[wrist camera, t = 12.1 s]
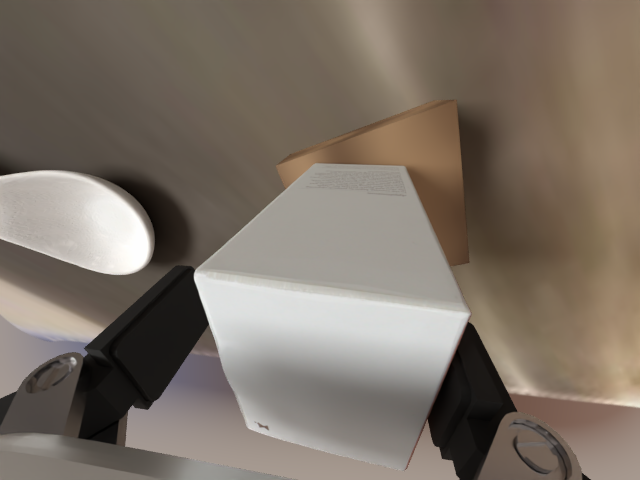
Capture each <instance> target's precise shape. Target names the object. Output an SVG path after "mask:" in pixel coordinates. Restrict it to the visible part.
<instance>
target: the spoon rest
mask: <svg viewBox="0 0 640 480" xmlns="http://www.w3.org/2000/svg"><path fill="white" fill-rule="evenodd" d="M0 239H3V240H6V241H9V242H12V243H15V244H18V245H21V246H24V247H26V248H29V249H32V250H35V251H38V252H41V253H43V254H46V255H49V256H52V257H55V258H57V259H60V260H63V261H66V262H69V263H72V264H75V265H78V266H80V267H83V268H86V269H90V270H93V271H97V272H101V273H106V274H114V275H125V274H132V273H135V272H138V271H139V270H141V269H143V268H144V267H145V266H146V265H147V264H148V263H149V262H150V260H151V258H152V255H153V252H154V245H155V236H154V230H153V226H152V223H151V220H150V218H149V216H148V215H147V213H146V211H145V210H144V208H143V207H142V206H141V204H140V203H139V202H138V201H137V200H136V199H135V198H134V197H133V196H132V195H130V194H129V193H128V192H126V191H125V190H124V189H122V188H120V187H119V186H117V185H115V184H113V183H111V182H109V181H107V180H104V179H102V178H99V177H96V176H92V175H89V174H84V173H79V172H72V171H60V170H41V171H31V172H23V173H16V174H10V175H4V176H0Z"/></svg>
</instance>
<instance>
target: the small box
mask: <svg viewBox="0 0 640 480" xmlns="http://www.w3.org/2000/svg"><path fill="white" fill-rule="evenodd" d="M194 281H195V283H196V286H197V289H198V292H199V295H200V299H201V301H202V304H203V307H204V310H205V313H206V316H207V319H208V322H209V325H210V327H211V330H212V333H213V336H214V338H215V341H216V345H217V348H218V352H219V356H220V360H221V364H222V367H223V370H224V372H225V376H226V378H227V380H228V382H229V384H230V385H231V387H232V389H233V391H234V393H235V396H236V399H237V401H238V404H239V406H240V409H241V412H242V414H243V417H244V419H245V422H246V425H247V427H248V428H249V429H251V430H253V431H256V432H259V433H262V434H264V435H268V436H271V437H274V438H277V439H281V440H285V441H288V442H291V443H295V444H298V445H302V446H306V447H309V448H313V449H317V450H320V451H324V452H328V453H332V454H335V455H340V456H344V457H348V458H352V459H356V460H360V461H364V462H367V463H372V464H377V465H380V466H384V467H389V468H393V469H397V470H401V471H405V470H406V469H407V467H408V465H409V462H410V460H411V457H412V455H413V453H414V450H415V448H416V445H417V443H418V441H419V438H420V436H421V433H422V431H423V429H424V426H425V423H426V421H427V419H428V417H429V414H430V412H431V410H432V407H433V405H434V402H435V400H436V398H437V396H438V393H439V391H440V388H441V386H442V383H443V380H444V378H445V376H446V374H447V371H448V368H449V366H450V364H451V361H452V359H453V357H454V354H455V352H456V350H457V347H458V345H459V343H460V340H461V338H462V335H463V333H464V330H465V328H466V325H467V323H468V321H469V319H470V317H471V315H472V312H471V310H470V308H469V307H468V305H467V303H466V301H465V299H464V296H463V294H462V292H461V289H460V287H459V285H458V282H457V280H456V278H455V276H454V274H453V272H452V270H451V268H450V265H449V263H448V260H447V258H446V256H445V254H444V251H443V249H442V247H441V245H440V243H439V240H438V238H437V236H436V234H435V232H434V230H433V227H432V225H431V223H430V221H429V218H428V216H427V214H426V211H425V209H424V207H423V205H422V203H421V200H420V198H419V196H418V194H417V191H416V189H415V187H414V185H413V182H412V180H411V178H410V176H409V173H408V171H407V169H406V167H405V166H391V165H357V164H325V163H315V164H314V165H312V166H311V167H310V168H309V169H308V170H307V171H306V172H305V173H304V174H302V175H301V176H300V177H299V178H298V179H297V180H296V181H295V182H293V183H292V184H291V185H290V186H289V187H288V188H287V189H286V190H285V191H284V192H283V193H281V194H280V195H279V196H278V197H277V198H276V199H275V200H274V201H272V202H271V203H270V204H269V205H268V206H267V207H266V208H265V209H263V210H262V211H261V212H260V213H259V214H258V215H257V216H256V217H255V218H254V219H253V220H251V221H250V222H249V223H248V224H247V225H246V226H245V227H244V228H243V229H242V230H240V231H239V232H238V233H237V234H236V235H235V236H234V237H233V238H231V239H230V240H229V241H228V242H227V243H226V244H225V245H224V246H223V247H222V248H220V249H219V250H218V251H217V252H216V253H215V254H213V255H212V256H211V257H210V258H209V259H208V260H206V261H205V262H204V263H203V264H202V265H201V266H199V267H198V268H197V269H196V270H195V273H194Z"/></svg>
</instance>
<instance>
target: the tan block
mask: <svg viewBox="0 0 640 480" xmlns="http://www.w3.org/2000/svg"><path fill="white" fill-rule="evenodd" d="M315 163H325V164H357V165H391V166H405V167H406V169H407V171H408V173H409V176H410V178H411V180H412V182H413V185H414V187H415V189H416V191H417V194H418V196H419V198H420V200H421V203H422V205H423V207H424V209H425V211H426V214H427V216H428V218H429V221H430V223H431V225H432V227H433V230H434V232H435V234H436V236H437V238H438V240H439V243H440V245H441V247H442V249H443V251H444V254H445V256H446V258H447V260H448V263H449V265H450V266H455V265H460V264H466V263H469V251H468V238H467V226H466V213H465V200H464V188H463V175H462V162H461V150H460V137H459V124H458V112H457V100H438V101H432V102H429V103H426V104H424V105H421V106H418V107H416V108H413V109H410V110H408V111H405V112H402V113H400V114H397V115H394V116H392V117H389V118H386V119H383V120H381V121H378V122H375V123H373V124H370V125H367V126H365V127H362V128H359V129H357V130H354V131H351V132H349V133H346V134H343V135H341V136H338V137H335V138H333V139H330V140H327V141H325V142H322V143H319V144H317V145H314V146H311V147H309V148H306V149H303V150H301V151H298V152H295V153H293V154H290V155H289V156H288V157H286V158H285V159H284V160H283V161H281V162H280V163H279V164H277V165H276V168H277V170H278V173H279V175H280V177H281V180H282V182H283V184H284V187H285V189H287V188H288V187H289V186H290V185H291V184H292V183H293V182H295V181H296V180H297V179H298V178H299V177H300V176H301V175H302V174H304V173H305V172H306V171H307V170H308V169H309V168H310V167H311V166H312V165H314V164H315Z"/></svg>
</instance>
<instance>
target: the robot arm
mask: <svg viewBox="0 0 640 480" xmlns="http://www.w3.org/2000/svg"><path fill="white" fill-rule="evenodd" d="M194 273H195V270H194V268H193V267H191V266H179V265H178V266H175V267H174V268H173V269H172V270H170V271H169V272H168V273H167V274H166V275H165V276H164V277H163V278H162V279H160V280H159V281H158V282H157V283H156V284H155V285H154V286H153V287H152V288H150V289H149V290H148V291H147V292H146V293H145V294H144V295H143V296H142V297H140V298H139V299H138V300H137V301H136V302H135V303H134V304H133V305H132V306H130V307H129V308H128V309H127V310H126V311H125V312H124V313H123V314H122V315H120V316H119V317H118V318H117V319H116V320H115V321H114V322H113V323H112V324H110V325H109V326H108V327H107V328H106V329H105V330H104V331H103V332H102V333H100V334H99V335H98V336H97V337H96V338H95V339H94V340H93V341H92V342H90V343H89V344H88V345H87V346H86V347H85V348H84V349H85V350H86V351H87V352H88V354H87V355H86V356H85V357H83V356H82V355H81V354H80V353H76V352H72V353H66V354H63V355H59V356H57V357H55V358H53V359H50V360H49V361H47V362H45V363H44V364H42V365H40V366H39V367H38V368H36V369H35V370H34V371H33V372H31V373H30V374H29V375H28V377H26V378H25V379H24V380H23V382H22V384H21V385H20V387H19V388H18V390H17V391H16V392H14V393H12V394H10V395H7V396H5V397H3V398H1V399H0V480H295V479H291V478H286V477H281V476H276V475H271V474H265V473H260V472H255V471H250V470H245V469H240V468H234V467H229V466H224V465H219V464H214V463H209V462H203V461H198V460H193V459H188V458H183V457H177V456H172V455H167V454H162V453H156V452H151V451H145V450H140V449H135V448H130V447H125V441H126V427H127V416H128V410H129V409H130V407H131V406H132V405H133V406H134V407H135V408H140V409H146V410H148V409H149V408H150V406H151V405H152V403H153V402H154V401H155V400H157V399H158V398H159V397H160V396H161V395H162V393H163V392H164V390H165V389H166V387H167V386H168V384H169V383H170V381H171V380H172V378H173V377H174V375H175V374H176V372H177V371H178V369H179V368H180V366H181V365H182V363H183V362H184V360H185V359H186V357H187V356H188V355H189V353H190V352H191V350H192V349H193V347H194V346H195V344H196V343H197V341H198V340H199V338H200V337H201V335H202V334H203V332H204V331H205V329H206V328H207V326H208V325H209V322H208V319H207V316H206V313H205V310H204V307H203V304H202V301H201V299H200V295H199V292H198V289H197V286H196V283H195V281H194ZM428 423H429V428H430V432H431V437H432V440H433V444H434V445H435V446H436V447H439V448H440V452H441V456H442V459H446V460H452V461H453V463H454V467H455V471H456V475H457V476H458V477H459V478H460V480H590V479H589V478H588V477H587V476H585V475H584V474H583V473H582V471H581V467H580V465H579V462H578V460H577V458H576V455H575V454H574V453H573V451H572V450H571V448H570V447H569V445H568V444H567V443H566V442H565V440H564V439H563V438H562V437H561V436H560V435H559V434H558V433H557V432H556V431H554V430H553V429H552V428H551V427H550V426H548V425H547V424H546V423H545V422H543V421H541V420H539V419H537V418H535V417H534V416H531V415H528V414H525V413H522V412H517V410H516V408H515V406H514V404H513V402H512V400H511V398H510V396H509V394H508V392H507V390H506V388H505V386H504V384H503V382H502V380H501V378H500V376H499V374H498V372H497V370H496V368H495V366H494V364H493V362H492V360H491V359H490V357H489V355H488V353H487V351H486V349H485V347H484V345H483V343H482V341H481V339H480V337H479V335H478V333H477V331H476V329H475V327H474V326H473V325H472V324H471V323H469V322H468V323H467V325H466V328H465V330H464V333H463V335H462V338H461V340H460V343H459V345H458V347H457V350H456V352H455V354H454V357H453V359H452V361H451V364H450V366H449V368H448V371H447V374H446V376H445V378H444V380H443V383H442V386H441V388H440V391H439V393H438V396H437V398H436V400H435V402H434V405H433V407H432V410H431V412H430V414H429V417H428Z"/></svg>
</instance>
